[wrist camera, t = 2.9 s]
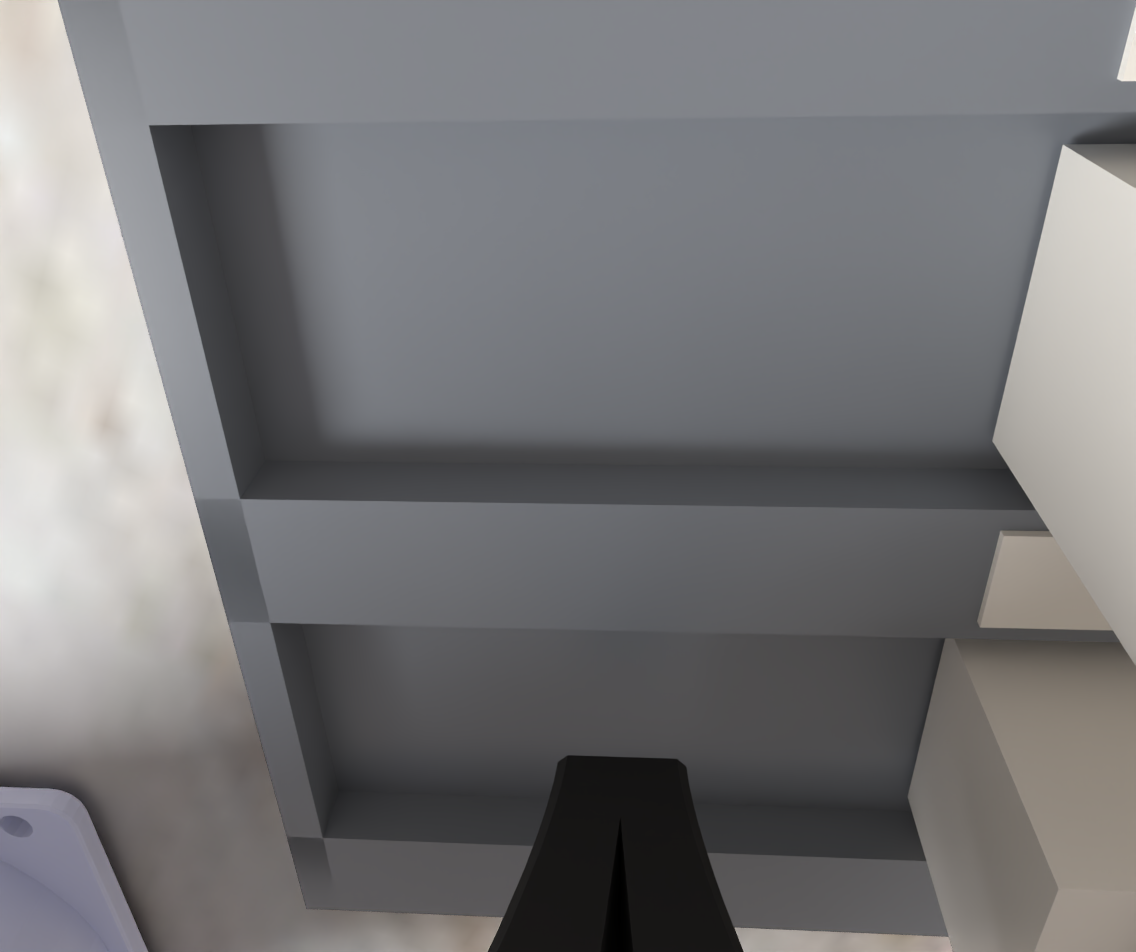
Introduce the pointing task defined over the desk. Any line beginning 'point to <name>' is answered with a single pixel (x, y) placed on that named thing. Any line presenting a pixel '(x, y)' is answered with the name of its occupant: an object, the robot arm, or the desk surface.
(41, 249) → the desk surface
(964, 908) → the tab
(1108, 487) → the tab
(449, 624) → the switch bank
